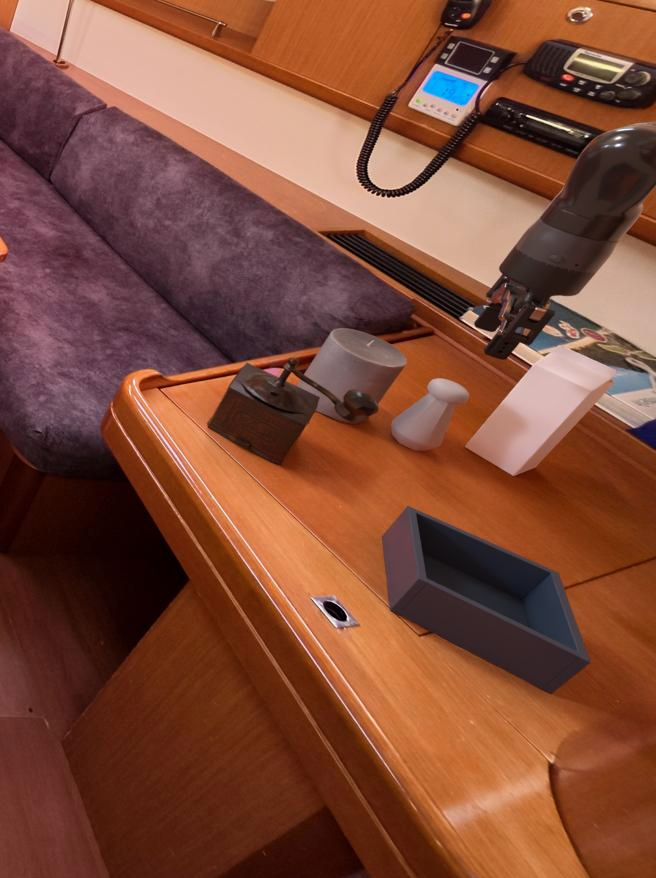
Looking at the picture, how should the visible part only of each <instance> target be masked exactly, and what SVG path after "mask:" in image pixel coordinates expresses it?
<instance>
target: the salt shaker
mask: <svg viewBox="0 0 656 878" xmlns="http://www.w3.org/2000/svg"><path fill="white" fill-rule="evenodd" d="M426 389H427V391H428V392H427V393H426V395H424V396H422V397H421V398H420V399H419V400H418V401H416V402H415V403H413V404H412V405H410V406H409V407H408V408H406V409H405V410H403V411H402V412H400V413H399V414H398V415H397V416H395V417H394V418H393V419H392V422H391V423H390V427H391V436H392V437H393V438H394V439H395V440H396V441H397V442H398V444H400V445H402V446H404V447H406V448H408V449H411V450H413V451H417V452H427V451H429V450H433V449H435V448H439V447H440V446H441V445H442V442H443V441H444V438H445V435H446V433H447V431H448V428H449V426H450V423H451V421H452V418H453V415H454V413H455V411H456V408H457V406H460V405H464V404H466V403H467V402H468V400H469V398H470V392H469V391H468V390H467V389H466V388H465V387H464V386H462V385H461V384H459V383H457V382H455V381H452V380H450V379H447V378H442V377H440V378H439V377H437V378H433V379H431V380H430V381H429V383H428V384H427V386H426Z"/></svg>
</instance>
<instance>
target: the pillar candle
mask: <svg viewBox="0 0 656 878" xmlns="http://www.w3.org/2000/svg"><path fill="white" fill-rule="evenodd" d="M407 364H408V358H407V357H406V355H405V354H404V353H403V351H401V350H400V349H399V348H397V347H396V346H394V345H392V344H391V343H389V342H388V341H386V340H384V339H382V338H380V337H378V336H375V335H373V334H370V333H368V332H365V331H360V330H358V329H355V328H354V329H353V328H348V327H339V328H334V329H333V330H332V331H331V332H330V333H329V335H328V336H327V338H326V339H325V341H324V342H323V344H322V346H321V347H320V348H319V350H318V351H317V353H316V355H315V357H314V358H313V360H312V361H311V363H310V365H309V366H308V367H307V369H306V370H305V372H304V375H305V376H307V377H308V378H310V379H311V380H313V381H315V382H316V383H318V384H319V385H321V386H322V387H324V388H325V389H327V390H328V391H330V392H331V393H332V394H334V395H335V396H336V397H337V398H338V399H339V400H340V401H341V402H342V403H343V401H344V399H343V397H344V395H345V394H346V393H347V391H348V390H353V389H356V390H360V391H362V392H365V393H367V394H368V395H370V396H371V397H372V398H373V399H374V400H375V401H376V402H377V403H378V404H380V402H381V401H382V399H384V396H385V395H386V394H387V392H388V391H389V389H390V388H391V386H392V385H393V384H394V382H395V381H396V380H397V378H398V377H399V375H400V374H401V372H402V371H403V369H405V367H406V366H407ZM296 386H297V387H300V388H302V389H304V390H306V391H308V392H310V393H312V394H314V395H316V396H318V397H320V399H319V401H318V406H317V409H316V411H315V412H317V413H320V414H322V415H325V416H326V417H329V418H331V419H333V420H336V421H338V422H341V423H344V424H351V425H352V424H353V425H360V424H362V423H364V422H366V420H368V419H369V418H370V416H358V418H357V421H354V422H350V421H348V420H346V419H344V418H342V417H341V416H340V415H339V414H338V413H337V412H336V411H335V408H334V406H335V405H334V403H333V402H332V401H331V400H330V399H329V398H328V397H327V396H325V395H324V394H322V393H321V392H319V391H318V390H317V389H315V388H314V387H312V386H310V385H309V384H307V383H305V382H304V381H302V380H301V379H299V382H298V384H296Z"/></svg>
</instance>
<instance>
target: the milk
mask: <svg viewBox="0 0 656 878" xmlns="http://www.w3.org/2000/svg"><path fill="white" fill-rule="evenodd" d="M617 373H618V371H617V370H616V369H615V368H614V367H613V368H612V367H610V366H608V365H606V364H604V363H601V362H599V361H597V360H595V359H592V358H591V357H588V356H586V355H584V354H582V353H579V352H577V351H575V350H573V349H570V348H568V347H565V346H564V345H556V347H554V349H552V351H551V352H549V353H548V354H547V355H545V356H543V357H542V358H540V359H539V360H537V361H536V362H534V363H533V364H532V366H531V367H530V368H529V369H528V370H527V372H526V373H525V374H524V375H523V376H522V378H521V379H520V380H519V381H518V382H517V383H516V385H515V386H514V387H513V388H512V389H511V391H510V392H509V393H508V394H507V395H506V397H505V398H504V399H503V400H502V401H501V402H500V404H499V405H498V406H497V407H496V408H495V409H494V411H493V412H492V413H491V414H490V415H489V417H488V418H487V419H486V420H485V422H483V424H482V425H481V426H480V428H478V429H477V431H476V432H475V433H474V434H473V436H472V437H471V438H470V440H468V441H467V443H466V444H465V446H464V448H466V449H467V450H469V451H471V452H472V453H474V454H475V455H477V456H479V457H481V458H482V459H484V460H486V461H487V462H489V463H490V464H492V465H494V466H496V467H498V468H499V469H500V470H502V471H504V472H506V473H507V474H509V475H511V476H513V477H515V476H518V475H520V474H523V473H525V472H528V471H530V470H533V469H535V468H536V467H537V466H538V465H539V464H541V462H542V461H543V460H545V458H546V457H547V456H548V455H549V453H550V452H551V451H552V450H553V449H554V448H555V447H556V446H557V445H558V444H559V443H560V442H561V441H562V440H563V439H564V438H565V437H566V436H567V434H568V433H569V432H571V430H572V429H573V428H574V427H575V426H576V425H577V424H578V423H579V422H580V420H582V418H584V416H585V415H586V414H587V413H588V412H589V411H590V410H591V409H592V408H593V407H594V406H595V404H596V403H598V401H599V400H601V398H602V397H603V396H604V395H605V394H606V393H607V392H608V391H609V390H610V389H611V388H612V387H613V386H614V384H615V382H614V380H613V378H614V377H615V376H616V375H617Z"/></svg>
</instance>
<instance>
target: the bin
mask: <svg viewBox="0 0 656 878" xmlns="http://www.w3.org/2000/svg"><path fill="white" fill-rule="evenodd" d="M381 541H382V550H383V559H384V569H385V577H386V579H385V580H386V587H387V596H388V607H389V611H390V612H392V613H394V614H397V615H398V616H400V617H402V618H403V619H406V620H408V621H410V622H411V623H413V624H416V625H418V626H420V627H421V628H423V629H425V630H427V631H429V632H431V633H433V634H434V635H436V636H438V637H441V638H442V639H444V640H446V641H448V642H449V643H452V644H454V645H456V646H458V647H460V648H462V649H464V650H466V651H467V652H469V653H471V654H473V655H475V656H477V657H479V658H481V659H482V660H485V661H486V662H488V663H490V664H493V665H494V666H496V667H498V668H500V669H502V670H504V671H506V672H508V673H510V674H512V675H514V676H515V677H517V678H519V679H521V680H523V681H525V682H527V683H528V684H531V685H533V686H535V687H536V688H538V689H540V690H542V691H544V692H546V693H548V694H550V695H552V694H553V693H555V692H556V691H557V690H558V689H559V688H561V687H562V686H563V685H565V684H566V683H568V681H570V680H571V679H572V678H574V677H575V676H576V675H577V674H578V673H580V672H582V671H583V669H585V668H586V667H588V666H589V665H590V664H591V659H590V657H589V653H588V651H587V648H586V646H585V643H584V640H583V637H582V634H581V631H580V628H579V625H578V623H577V620H576V617H575V614H574V611H573V609H572V606H571V604H570V603H571V602H570V600H569V598H568V595H567V592H566V589H565V587H564V583H563V581H562V578H561V575H560V572H558V571H556V570H554V569H551V568H549V567H547V566H545V565H543V564H540V563H538V562H536V561H534V560H532V559H529V558H526V557H524V556H522V555H520V554H518V553H516V552H514V551H511V550H509V549H506V548H504V547H502V546H500V545H497V544H495V543H493V542H492V541H489V540H486V539H485V538H482V537H479V536H477V535H475V534H473V533H471V532H468V531H466V530H465V529H464V530H463V529H461V528H460V527H457V526H455V525H452V524H450V523H448V522H446V521H443V520H442V519H439V518H436V517H434V516H432V515H430V514H427V513H425V512H423V511H421V510H419V509H417V508H414V507H412V506H410V505H406V507H404V509H403V511H402V512H401V513H400V514H399V515H398V517H397V518H396V519H394V521H393V523H392V524H391V525H390V526H389V527H388V529H387V530H386V531H385V532H384V533H383V534H382V535H381Z"/></svg>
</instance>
